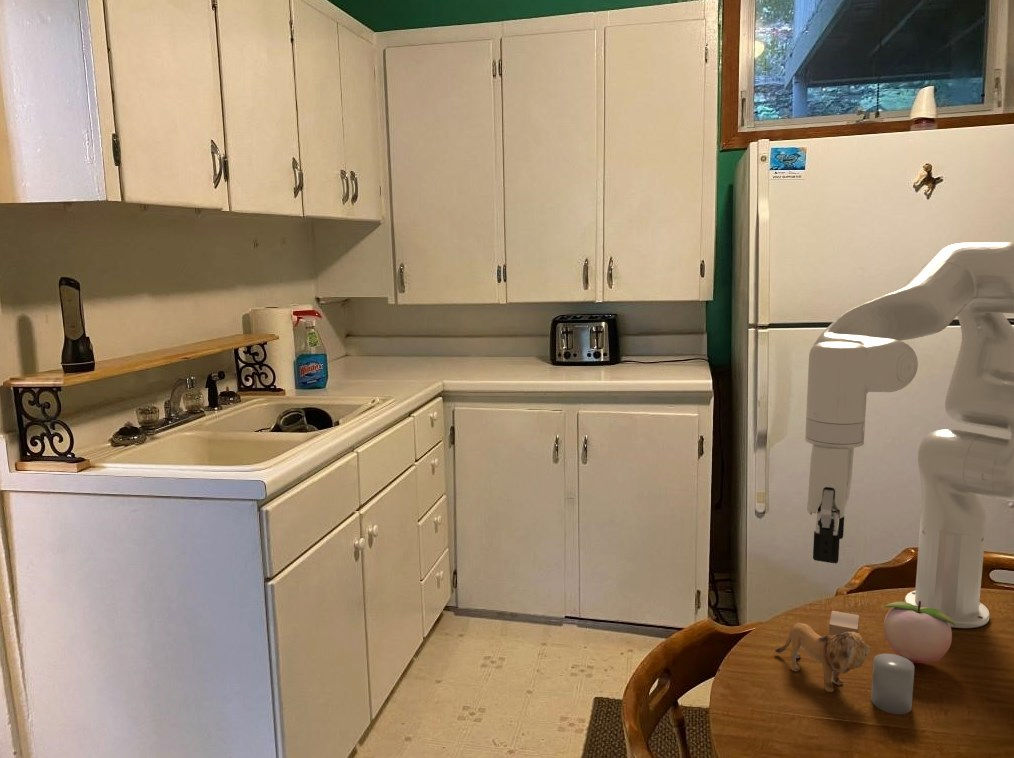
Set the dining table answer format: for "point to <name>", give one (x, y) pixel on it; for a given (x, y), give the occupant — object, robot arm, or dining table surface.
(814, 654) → the lion figurine
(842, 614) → the pale beige block
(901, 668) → the light grey cylinder
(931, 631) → the decorative fruit
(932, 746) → the dining table surface
